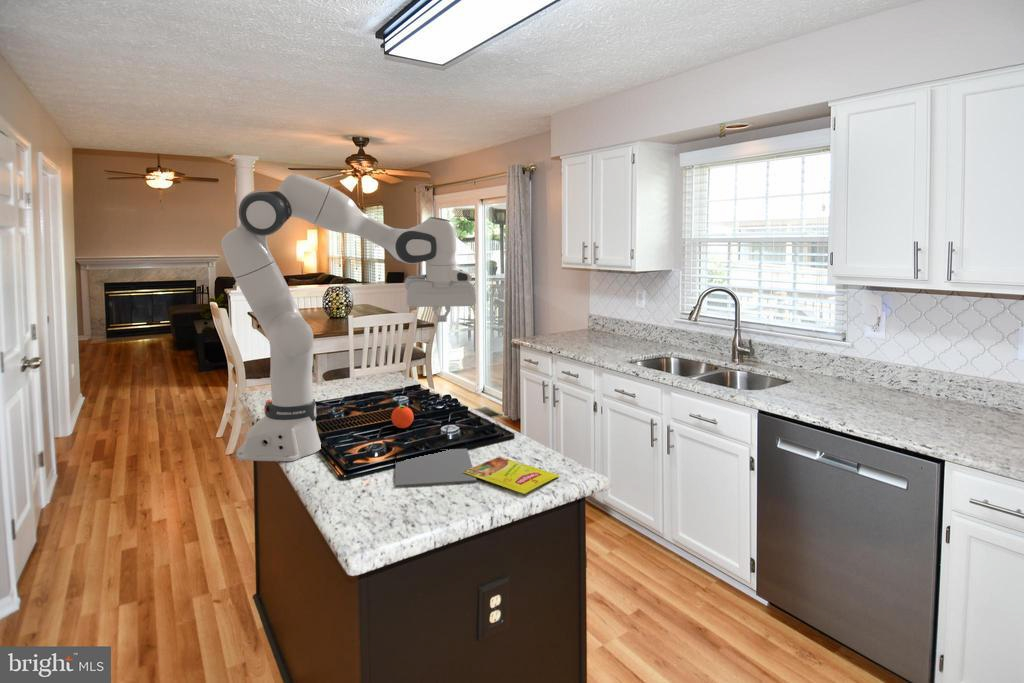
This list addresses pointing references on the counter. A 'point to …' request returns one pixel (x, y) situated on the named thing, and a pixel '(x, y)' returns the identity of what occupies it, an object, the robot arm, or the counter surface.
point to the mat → (435, 469)
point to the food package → (511, 474)
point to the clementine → (402, 417)
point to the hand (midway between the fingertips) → (441, 321)
